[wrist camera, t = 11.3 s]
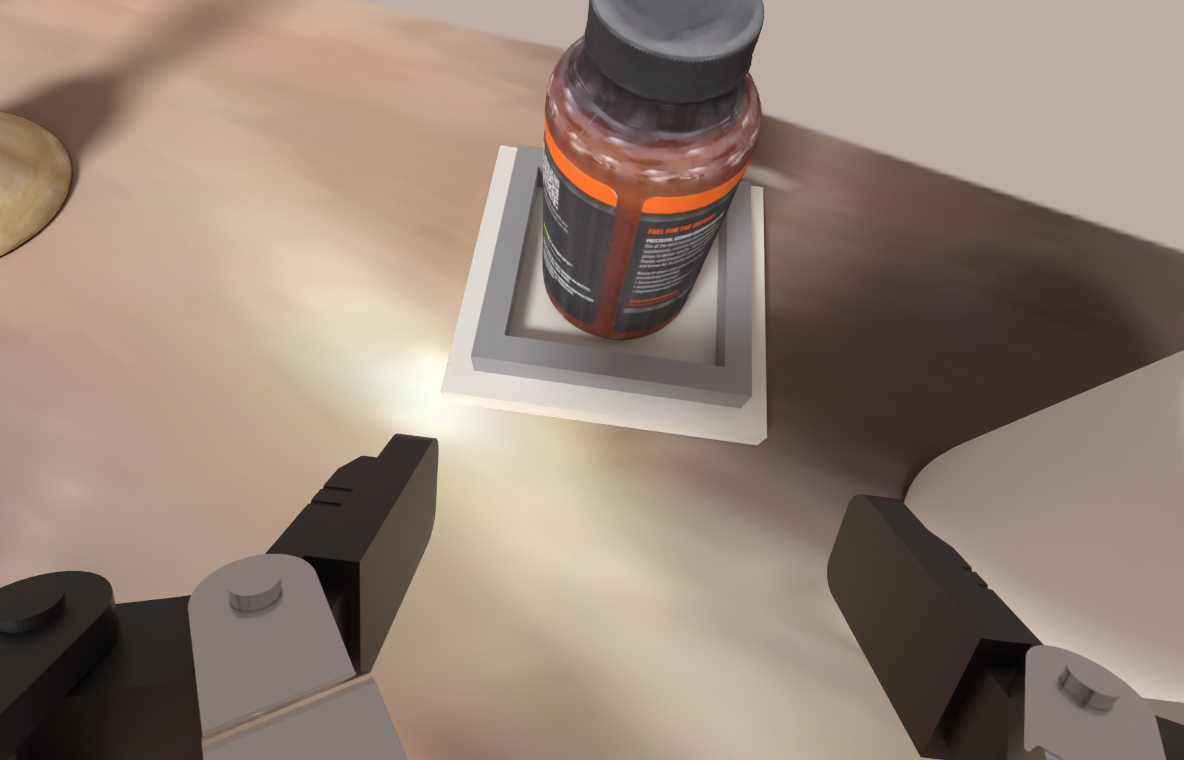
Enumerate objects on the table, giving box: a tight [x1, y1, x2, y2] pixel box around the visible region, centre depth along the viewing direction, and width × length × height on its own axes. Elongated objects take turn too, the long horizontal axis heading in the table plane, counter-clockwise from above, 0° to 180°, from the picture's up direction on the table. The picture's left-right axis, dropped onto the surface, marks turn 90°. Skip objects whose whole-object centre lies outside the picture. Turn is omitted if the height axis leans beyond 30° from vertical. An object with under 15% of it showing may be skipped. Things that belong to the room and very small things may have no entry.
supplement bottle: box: [542, 0, 764, 340], centre depth 18 cm, size 6×6×11 cm
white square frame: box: [441, 144, 767, 445], centre depth 23 cm, size 12×12×2 cm
